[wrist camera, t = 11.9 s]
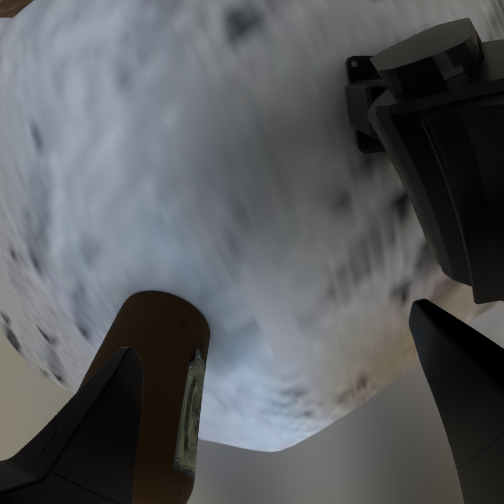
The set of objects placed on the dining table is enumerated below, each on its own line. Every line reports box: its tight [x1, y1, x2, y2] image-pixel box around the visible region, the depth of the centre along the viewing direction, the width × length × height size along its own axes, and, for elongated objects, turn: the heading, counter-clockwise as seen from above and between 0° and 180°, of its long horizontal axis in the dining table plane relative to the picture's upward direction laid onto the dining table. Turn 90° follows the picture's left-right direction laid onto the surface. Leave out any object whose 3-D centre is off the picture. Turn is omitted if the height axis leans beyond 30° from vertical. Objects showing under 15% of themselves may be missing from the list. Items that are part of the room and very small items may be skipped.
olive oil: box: [77, 292, 210, 504], centre depth 17 cm, size 11×11×25 cm
